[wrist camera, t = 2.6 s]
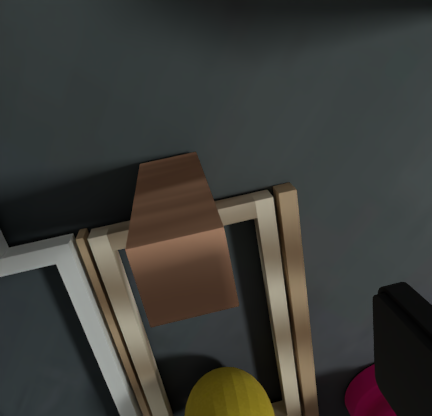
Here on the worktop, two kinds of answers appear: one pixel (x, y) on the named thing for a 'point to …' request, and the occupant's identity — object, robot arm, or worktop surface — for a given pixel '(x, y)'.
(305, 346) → the lane bed
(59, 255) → the frame
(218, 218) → the frame
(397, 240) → the worktop surface
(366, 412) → the pepper mill
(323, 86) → the worktop surface
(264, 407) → the lemon
